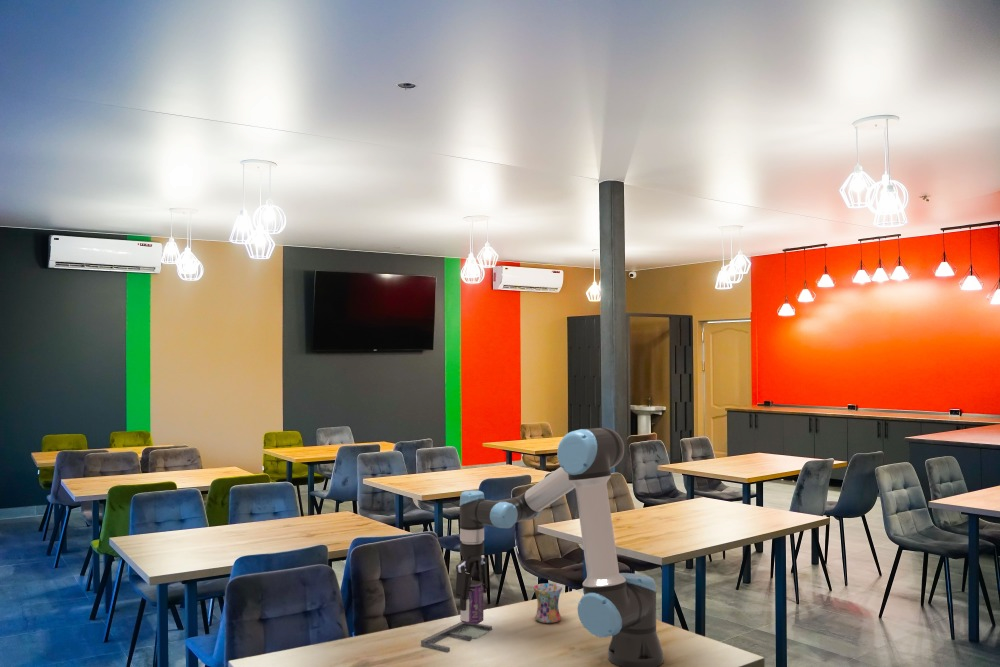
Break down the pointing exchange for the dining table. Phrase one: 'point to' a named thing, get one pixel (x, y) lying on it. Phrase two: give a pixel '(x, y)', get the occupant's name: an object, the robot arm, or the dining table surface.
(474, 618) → the beverage can
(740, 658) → the dining table surface
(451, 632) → the grey flat frame
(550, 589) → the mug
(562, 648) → the dining table surface
